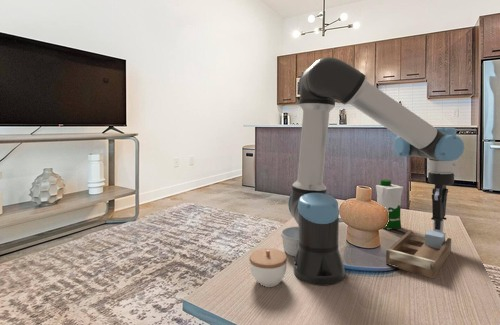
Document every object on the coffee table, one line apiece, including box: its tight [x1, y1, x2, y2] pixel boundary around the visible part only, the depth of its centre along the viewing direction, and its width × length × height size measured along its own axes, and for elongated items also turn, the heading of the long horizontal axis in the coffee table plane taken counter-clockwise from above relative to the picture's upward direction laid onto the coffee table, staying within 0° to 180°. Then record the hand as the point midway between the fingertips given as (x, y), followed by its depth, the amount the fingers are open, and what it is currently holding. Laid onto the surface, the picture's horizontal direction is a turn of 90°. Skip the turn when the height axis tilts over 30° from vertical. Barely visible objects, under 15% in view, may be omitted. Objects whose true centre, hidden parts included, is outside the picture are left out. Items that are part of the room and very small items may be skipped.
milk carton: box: [375, 179, 404, 230], centre depth 122 cm, size 9×9×20 cm
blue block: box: [424, 229, 446, 249], centre depth 97 cm, size 5×5×4 cm
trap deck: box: [385, 229, 452, 279], centre depth 93 cm, size 13×24×5 cm, turn 135°
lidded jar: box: [249, 248, 288, 288], centre depth 82 cm, size 11×11×9 cm
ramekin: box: [280, 226, 299, 257], centre depth 102 cm, size 13×13×7 cm
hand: (437, 237), depth 101 cm, fingers closed
